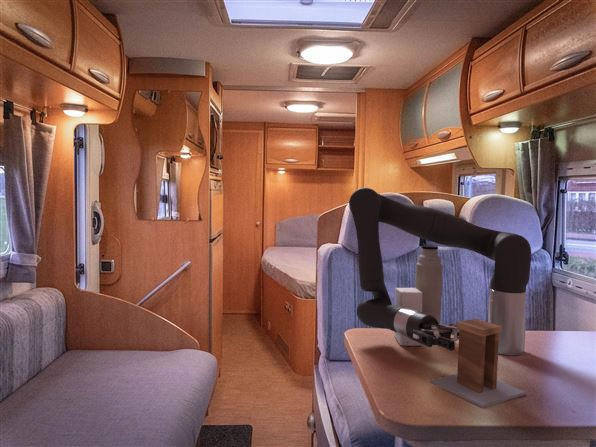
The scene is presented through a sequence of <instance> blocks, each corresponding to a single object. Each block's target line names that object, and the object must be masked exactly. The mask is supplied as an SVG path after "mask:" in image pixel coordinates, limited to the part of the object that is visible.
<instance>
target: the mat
mask: <svg viewBox="0 0 596 447" xmlns="http://www.w3.org/2000/svg"><path fill="white" fill-rule="evenodd" d="M430 383H431V384H433V385H434V386H435V385H436V386H437V387H439V388H441V389H443V390H446V391H447V392H449V393H452V394H454V395H455V396H457V397H460V398H461V399H464V400H466V401H468V402H470V403H472V404H474V405H476V406H477V407H480V408H482V409H483V408H486V407H491V406H493V405H496V404H499V403H502V402H506V401H509V400H513V399H515V398H519V397H522V396H525V395H526V391H524V390H521V389H520V388H517V387H515V386H512V385H510V384H507V383H505V382H502V381H501V380H498V379H497V385H496V389H490V388H488V387H486V386H484V385H483V392H482V393H477V392H475V391H473V390H471V389H469V388H467V387H464V386H462V385H460V384H458V383H457V373H454V374H449V375H446V376H441V377H437V378H433V379H430Z"/></svg>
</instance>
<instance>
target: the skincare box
mask: <svg viewBox="0 0 596 447" xmlns="http://www.w3.org/2000/svg"><path fill="white" fill-rule="evenodd" d="M394 305H397V306H401V307H404V308H407V309H413V310H416V311H420V312H422V292H421V291H419V290H418V289H416V288H415V287H395V288H394ZM394 339H395V340H396V341H397V342H398V344H399V345H400V346H404V347H405V346H406V347H408V346H410V347H411V346H412V347H414V346H415V347H417V346H421V347H422V345H423V344H420V343H418V342H416V341H414V340H412V339H409V338H407V337H404V336H402V335H401V334H399V333H397V332H394Z"/></svg>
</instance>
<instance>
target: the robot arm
mask: <svg viewBox="0 0 596 447" xmlns="http://www.w3.org/2000/svg"><path fill="white" fill-rule="evenodd" d="M348 207H349V210H350V213H351V215H352V218H353V222H354V227H355V230H356V231H355V232H356V240H357V260H358V261H357V262H358V263H357V264H358V271H359V272H358V273H359V274H358V275H359V285H360V289H361V290H362V291H364V292H368V293H369V292H370V293H371V294H372V296H373V298H371V299H366V300H363V301H361V302H359V304H358V305H357V307H356V316H357V318H358V320H359V322H361V323H362V324H364V326H367V327H372V328H376V329H377V328H378V329H385V330H386V329H387V330H390V331H393V332H394V333H395V332H397V333H399V334H401V335H402V336H404V337H407V338H409V339H412V340H414V341H416V342H418V343H420V344H422V345H423V346H425V347H428V348H433V346H434V347H436V348H443V349H445V350H448V351H451V352H452V351H455V349H456V342H457V341H459V329H458V328H457V324H454V323H452V322H451V323H449V325H446V324H444V323H440V324H439V323H438V321H437V319H436V318H435V317H434V316H432V315H429V314H426V313H423V312H420V311H416V310H413V309H407V308H404V307H401V306H397V305H395V304H392V301H391V297H390V295H389V293H388V292H389V291H388V289H387V286H386V284H385V275H384V274H385V273H384V264H383V258H382V250H381V242H380V232H379V230H380V229H379V228H380V227H379V225H380V224H379V223H381V224H382V223H383V224H386V225H390V226H393V227H395V228H398V229H399V230H401V231H403V232H405V233H408V234H409V235H413V236H415V237H418V239H419V238H420V239H423V240H425V241H428V242H432V243H435V244H438V245H443V246H447V247H452V248H457V249H458V248H459V249H465V250H469V251H473V252H475V253H477V254H479V255H482V256H484V257H487V258H489V259H491V260H493V261H494V268H493V275H492V277H491V278H490V281H489V298H488V299H489V300H488V301H489V302H488V320H487V322H489V323H492V324H496V325H499V326H502V333H499V346H498V355H499V354H500V355H505V356H520V355H522V354H523V352H524V351H525V346H526V344H525V343H526V325H527V324H526V323H527V318H526V317H525V316H526V301H527V300H526V296H527V295H526V294H527V293H526V292H527V285H528V284H529V281H530V275H531V264H532V248H531V244H530V242H529V241H528V240H527V239H526V238H525V236H522V235H520V234H516V233H513V232H508V231H499V230H495V229H489V228H485V227H481V226H479V225H476V224H473V223H472V222H469V221H467V220H466V219H464V218H462V217H459V216H456V215H454V214H452V213H448V212H446V211H443V210H440V209H437V208H432V207H429V206H425V205H424V206H423V205H421V204H420V205H418V204H413V203H406V202H402V201H398V200H395V199H392V198H390V197H387V196H384V195H383V194H381V193H378V192H377V191H376V190H374V189H372V188H369V187H361V188H360V187H359V188H358V189H355V191H354V192H352V193H351V195H350V197H349V201H348Z"/></svg>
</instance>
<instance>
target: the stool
mask: <svg viewBox="0 0 596 447" xmlns="http://www.w3.org/2000/svg"><path fill="white" fill-rule="evenodd" d="M456 325H457V328H458V329H459V340H458V350H457V351H458V352H457V354H458V356H457V373H456V374H457V383H458V384H460V385H462V386H464V387H467V388H469V389H471V390H473V391H475V392H477V393H482V392H483V385H484V386H486V387H488V388H490V389H496V385H497V380H498V362H499V360H498V359H499V353H498V346H499V333H502V326H499V325H496V324H492V323H489V322H488V321H485V320H481V319H478V318H473V319H468V320H467V319H466V320H462V321H457V322H456Z"/></svg>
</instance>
